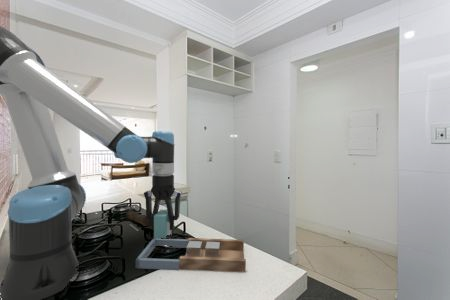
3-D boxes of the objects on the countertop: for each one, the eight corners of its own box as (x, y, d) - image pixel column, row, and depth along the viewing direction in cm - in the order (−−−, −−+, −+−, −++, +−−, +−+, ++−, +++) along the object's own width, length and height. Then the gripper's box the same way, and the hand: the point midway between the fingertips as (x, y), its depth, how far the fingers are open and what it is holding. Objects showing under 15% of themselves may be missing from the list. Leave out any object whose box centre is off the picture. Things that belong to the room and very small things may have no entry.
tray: (135, 272, 58) (135, 259, 58) (153, 248, 71) (153, 238, 71) (178, 274, 58) (179, 261, 57) (189, 249, 71) (189, 239, 70)
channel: (179, 273, 58) (179, 258, 58) (188, 250, 70) (188, 237, 70) (245, 276, 57) (245, 261, 57) (243, 252, 70) (243, 239, 69)
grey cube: (186, 260, 62) (186, 247, 62) (189, 253, 66) (189, 240, 66) (199, 261, 62) (200, 247, 62) (201, 254, 66) (202, 241, 66)
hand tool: (125, 220, 97) (125, 210, 96) (134, 217, 100) (134, 208, 100) (147, 232, 85) (147, 220, 84) (156, 229, 88) (156, 218, 87)
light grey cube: (205, 261, 62) (205, 248, 62) (206, 254, 66) (206, 241, 66) (218, 262, 62) (219, 248, 62) (219, 254, 66) (219, 242, 66)
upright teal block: (153, 244, 74) (153, 215, 74) (160, 235, 81) (160, 209, 81) (165, 244, 74) (165, 216, 74) (171, 235, 81) (171, 209, 81)
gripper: (135, 175, 73) (135, 242, 74) (184, 176, 73) (183, 243, 73) (144, 172, 81) (144, 232, 82) (188, 173, 80) (188, 234, 81)
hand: (162, 237), depth 78 cm, fingers closed on upright teal block, 4 cm apart
